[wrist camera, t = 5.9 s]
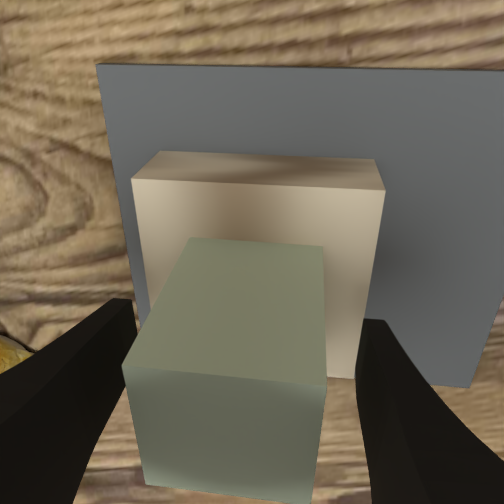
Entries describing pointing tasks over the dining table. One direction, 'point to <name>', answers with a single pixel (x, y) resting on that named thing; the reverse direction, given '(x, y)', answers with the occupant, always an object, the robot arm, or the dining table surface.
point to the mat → (350, 146)
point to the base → (269, 222)
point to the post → (233, 371)
